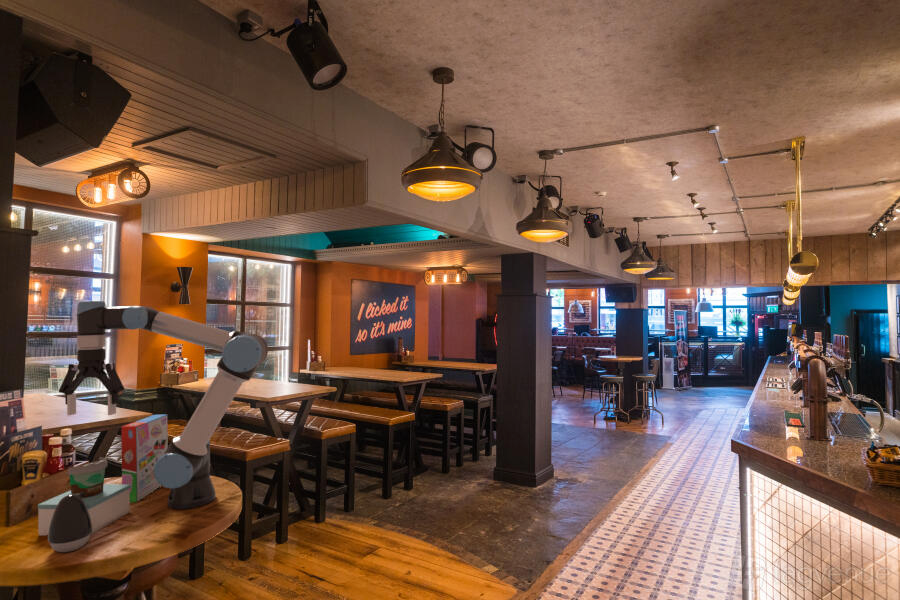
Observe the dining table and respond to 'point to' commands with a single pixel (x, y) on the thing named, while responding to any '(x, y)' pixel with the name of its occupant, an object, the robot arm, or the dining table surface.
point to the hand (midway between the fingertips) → (91, 414)
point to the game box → (143, 453)
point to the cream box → (93, 513)
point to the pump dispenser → (70, 524)
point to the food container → (88, 478)
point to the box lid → (92, 501)
